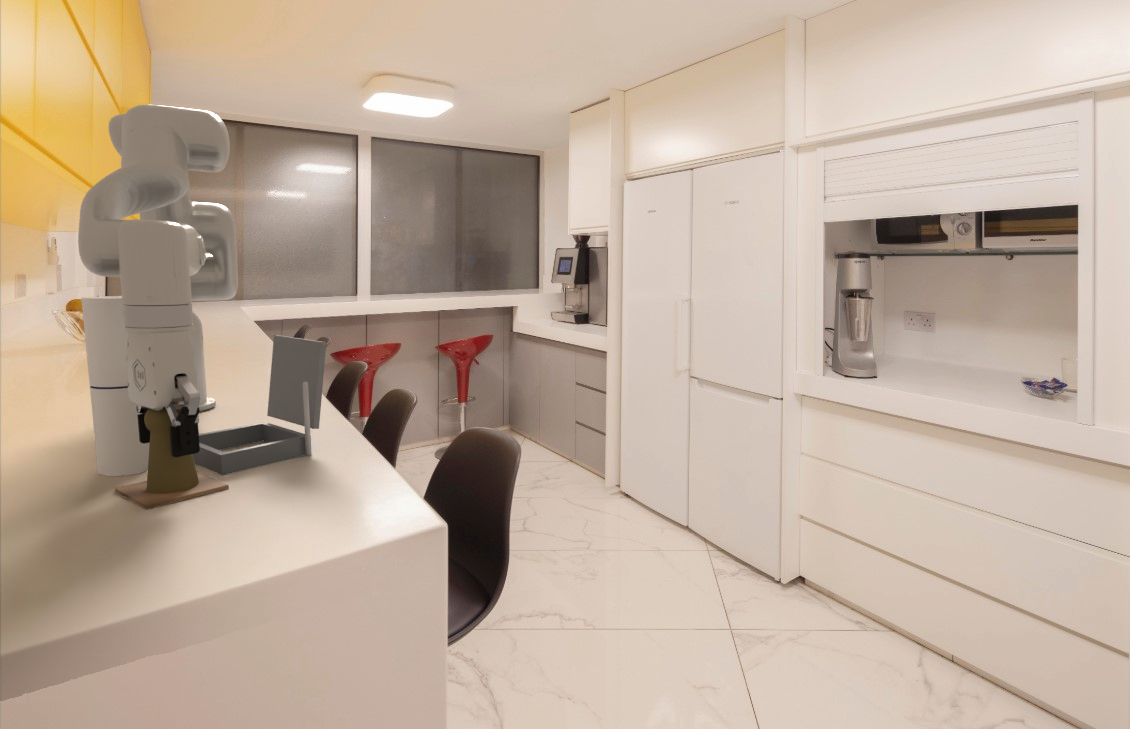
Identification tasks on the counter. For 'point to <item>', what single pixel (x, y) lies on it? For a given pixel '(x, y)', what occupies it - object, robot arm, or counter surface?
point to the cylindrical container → (111, 389)
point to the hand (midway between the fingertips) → (169, 447)
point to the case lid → (296, 379)
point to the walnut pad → (151, 500)
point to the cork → (166, 458)
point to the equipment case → (277, 449)
